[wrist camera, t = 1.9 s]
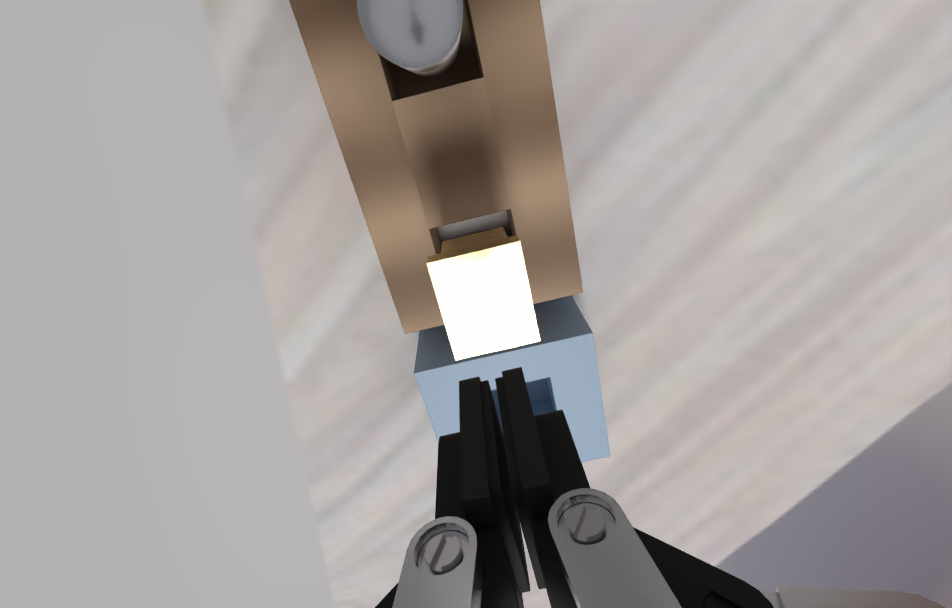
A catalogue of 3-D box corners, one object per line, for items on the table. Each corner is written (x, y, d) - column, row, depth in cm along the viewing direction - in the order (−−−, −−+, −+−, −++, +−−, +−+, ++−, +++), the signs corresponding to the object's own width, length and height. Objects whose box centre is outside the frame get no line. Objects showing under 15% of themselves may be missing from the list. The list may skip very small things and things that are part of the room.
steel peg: (388, 15, 22) (341, -41, 12) (450, -2, 21) (448, -71, 12) (407, 84, 23) (376, 78, 14) (465, 68, 23) (473, 53, 14)
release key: (432, 229, 22) (426, 263, 17) (506, 210, 21) (520, 241, 17) (455, 310, 23) (455, 360, 19) (523, 294, 23) (540, 340, 19)
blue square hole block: (419, 330, 30) (413, 373, 25) (571, 295, 29) (592, 332, 25) (454, 435, 34) (454, 489, 29) (588, 406, 33) (610, 456, 28)
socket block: (299, -35, 21) (268, -61, 18) (508, -94, 21) (519, -134, 17) (411, 303, 29) (404, 333, 25) (566, 267, 28) (583, 292, 25)
